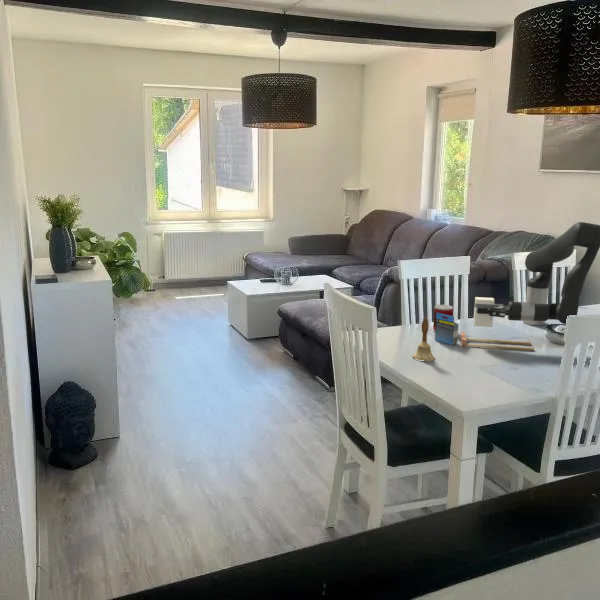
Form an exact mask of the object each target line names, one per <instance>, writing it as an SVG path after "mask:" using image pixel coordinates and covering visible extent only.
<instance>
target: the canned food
mask: <svg viewBox="0 0 600 600" xmlns="http://www.w3.org/2000/svg"><path fill="white" fill-rule="evenodd" d="M436 312H437V313H441V314H446V315H450V316H454V315H453V314H454V307H453V306H452V305H449V304H436V305H434V310H433V323H432V325H433V326H432V327H433V328H432V330H433V329H434V330H435V327H436ZM442 318H445V319H448V318H447V317H445V316H444V317H443V316H442ZM434 330H433V331H434Z"/></svg>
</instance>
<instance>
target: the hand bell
mask: <svg viewBox="0 0 600 600" xmlns="http://www.w3.org/2000/svg"><path fill="white" fill-rule="evenodd" d="M429 327H430V326H429V321H428V318H427V317H423V319H422V322H421V332H422V338H421V339H422V341H421V342H420V343H418V345H417V350H416V352H415V353H414V354H413V355H412V358H413V357H414V358H415V359H418V360H424V361H428V362H432V361H431V360H433V361H434V360H435V356H434V355H433V353H432V349H431V345H430V344H429V343H428V339H427V337H428V336H427V334H428V332H429ZM415 359H414V360H415Z"/></svg>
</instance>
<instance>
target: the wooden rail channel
mask: <svg viewBox="0 0 600 600" xmlns="http://www.w3.org/2000/svg"><path fill="white" fill-rule="evenodd" d="M459 339H460V344H462V345H461V348H478V347H480V348H482V349H492V348H493V349H494V350H506V351H511V350H512V351H521V352H522V351H523V352H535V348H534V347H531V346H532V342H531V341H522V340H521V341H520V340H504V339H491V338H490V339H489V338H477V337H476V338H475V337H467V336H466V332H464V331H463V332H462V331H461V332H460V338H459ZM471 341H476V342H475V343H469V342H471ZM486 342H490V343H489V344H485V343H486ZM480 343H481V344H480ZM482 343H483V344H482ZM501 343H503V344H504V345H503V344H502V345H501ZM495 344H500V345H495ZM510 345H511V346H510ZM513 345H518V346H513ZM466 346H468V347H466ZM523 346H524V347H523ZM525 346H530V347H525ZM480 348H479V349H480Z"/></svg>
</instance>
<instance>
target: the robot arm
mask: <svg viewBox="0 0 600 600" xmlns="http://www.w3.org/2000/svg"><path fill="white" fill-rule="evenodd" d="M575 247H581V248H586V250H585V253H584V255H583V257H581V259H580V260H579V261H578V262H577V264H575V265H574V266H573V267H572V268H571V269H570V270H569V271H568V273H566V276H565V278H564V281H563V285H562V288H561V293H560V296H561V300H560V302H554V303H553V302H552V303H548V300H549V299H548V297H549V290H550V289H549V288H550V283H551V280H552V274H553V273H552V272H553V268H554V263H559V262H562V261H565V260H566V259H568V258H569V257H571V256H572V255H573V253H574V252H575ZM599 251H600V224H596V223H591V222H585V221H584V222H582V221H579V222H576V223H574V224H572V226H570V227H569V228H568V229H567V230H566V231H565V232H564V233H563V234H562V233H561V235H560V236H558V237H556V238H554V239H553V240H551V241H549V243H547V244H545V245H544V246H542V247H540V248H538V249H536V250H534V251H531V252H529V253H528V254H527V255H526V257H525V259H524V266H525V268H526V270H527V271H528V272H531V273H539V274H538V275H536V276H534V277H531V278H529V279H528V280H527V284H526V292H525V293H526V296H525V301H509V302H508V304H507V305H504V304H502V303H494V308H488V309H487V308H478V309H477V313H478V314H487V315H489V316H493V318H494V317H496V318H505V317H506V316H507V320H509V321H519V322H523V323H524V324H527V325H529V326H544V325H545V324H546V321H548V320H550V321H551V320H552V321H553V320H554V321H555V320H556V321H559V323H561V324H564V325H567V324H566V319H567V316H569V315H578V312H579V307H580V306H579V305H580V297H581V295H582V293H583V292H582V291H583V288H584V285H585V282H586V278H587V276H588V273H589V271H590V270H591V267H592V265H593V263H594V261H595V259H596V257H597V255H598V253H599Z"/></svg>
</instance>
